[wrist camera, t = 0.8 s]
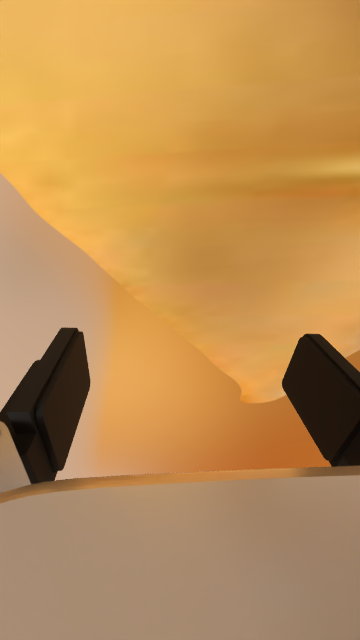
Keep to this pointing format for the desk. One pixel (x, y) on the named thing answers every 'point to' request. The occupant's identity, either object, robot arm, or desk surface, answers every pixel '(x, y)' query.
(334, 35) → the desk surface
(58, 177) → the desk surface
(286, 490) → the robot arm
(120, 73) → the desk surface
